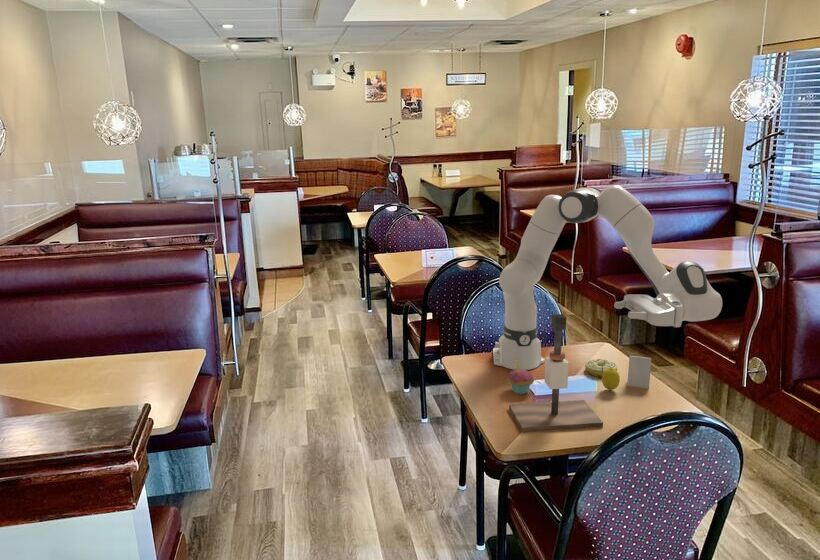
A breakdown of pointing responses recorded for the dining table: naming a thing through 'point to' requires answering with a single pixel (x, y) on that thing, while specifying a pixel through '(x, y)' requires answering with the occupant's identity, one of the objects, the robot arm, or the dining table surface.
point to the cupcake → (520, 380)
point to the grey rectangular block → (639, 372)
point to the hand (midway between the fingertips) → (622, 310)
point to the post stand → (555, 401)
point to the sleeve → (556, 373)
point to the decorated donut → (599, 366)
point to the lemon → (610, 379)
